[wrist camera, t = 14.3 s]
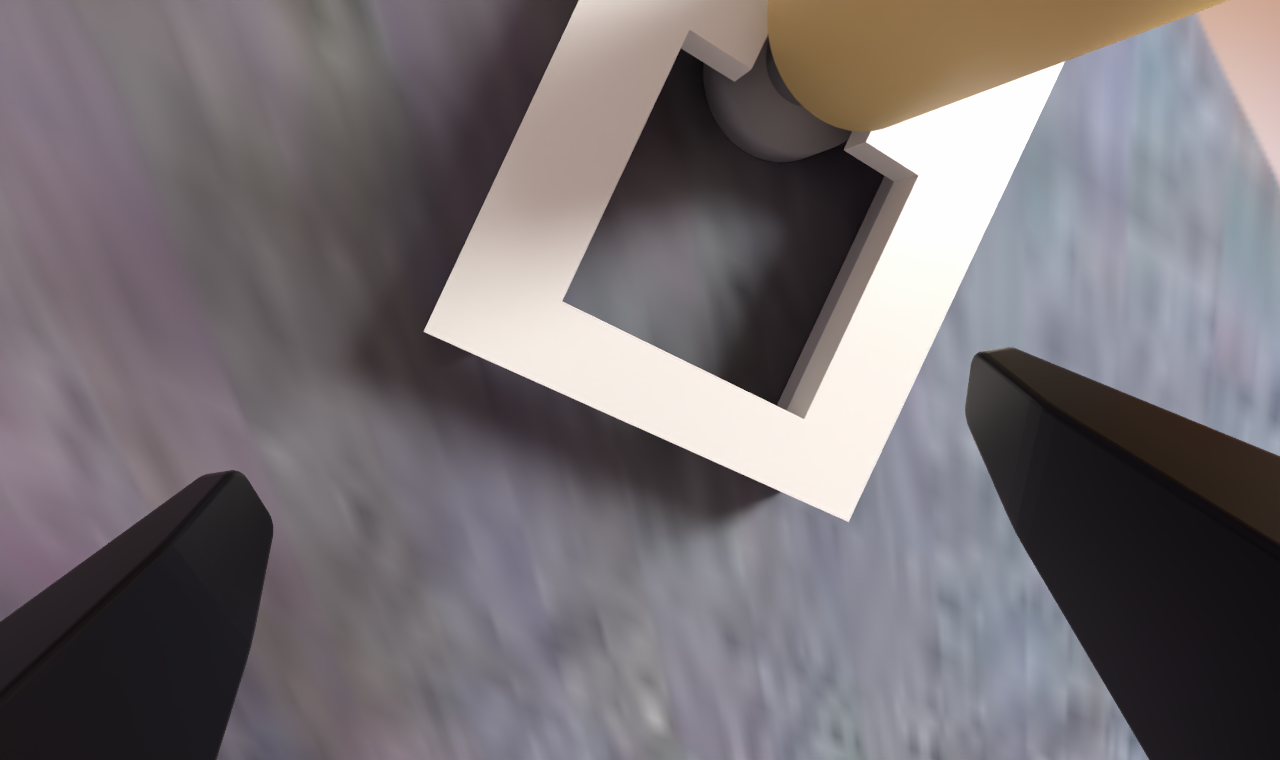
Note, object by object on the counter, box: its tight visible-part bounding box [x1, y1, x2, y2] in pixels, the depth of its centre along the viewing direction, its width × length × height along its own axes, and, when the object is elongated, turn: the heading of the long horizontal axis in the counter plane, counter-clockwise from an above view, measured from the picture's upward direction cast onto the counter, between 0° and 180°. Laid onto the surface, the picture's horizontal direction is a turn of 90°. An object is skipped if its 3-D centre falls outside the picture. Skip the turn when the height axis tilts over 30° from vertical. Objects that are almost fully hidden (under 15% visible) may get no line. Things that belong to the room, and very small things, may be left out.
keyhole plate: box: [424, 0, 1064, 522], centre depth 18 cm, size 14×11×3 cm
